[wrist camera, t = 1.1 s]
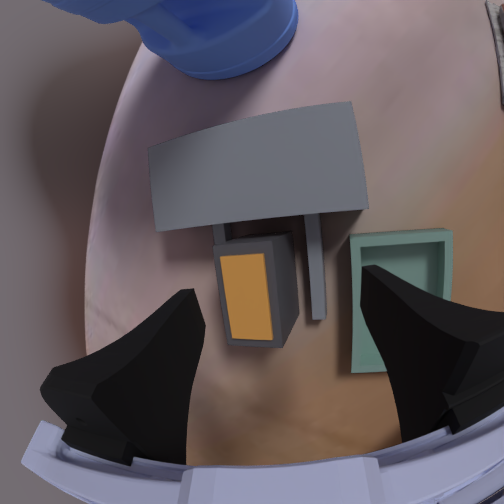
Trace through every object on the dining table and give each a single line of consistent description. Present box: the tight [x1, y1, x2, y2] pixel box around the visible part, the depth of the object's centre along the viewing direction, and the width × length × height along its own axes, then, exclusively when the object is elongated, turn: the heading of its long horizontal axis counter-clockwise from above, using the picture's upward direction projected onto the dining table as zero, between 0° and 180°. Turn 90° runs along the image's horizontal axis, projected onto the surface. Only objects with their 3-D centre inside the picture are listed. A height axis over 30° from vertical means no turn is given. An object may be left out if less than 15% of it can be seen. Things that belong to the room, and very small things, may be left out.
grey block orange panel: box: [213, 231, 299, 348], centre depth 23 cm, size 8×4×7 cm, turn 7°
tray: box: [349, 228, 453, 373], centre depth 21 cm, size 13×9×2 cm
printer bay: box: [148, 101, 369, 320], centre depth 23 cm, size 18×18×5 cm
